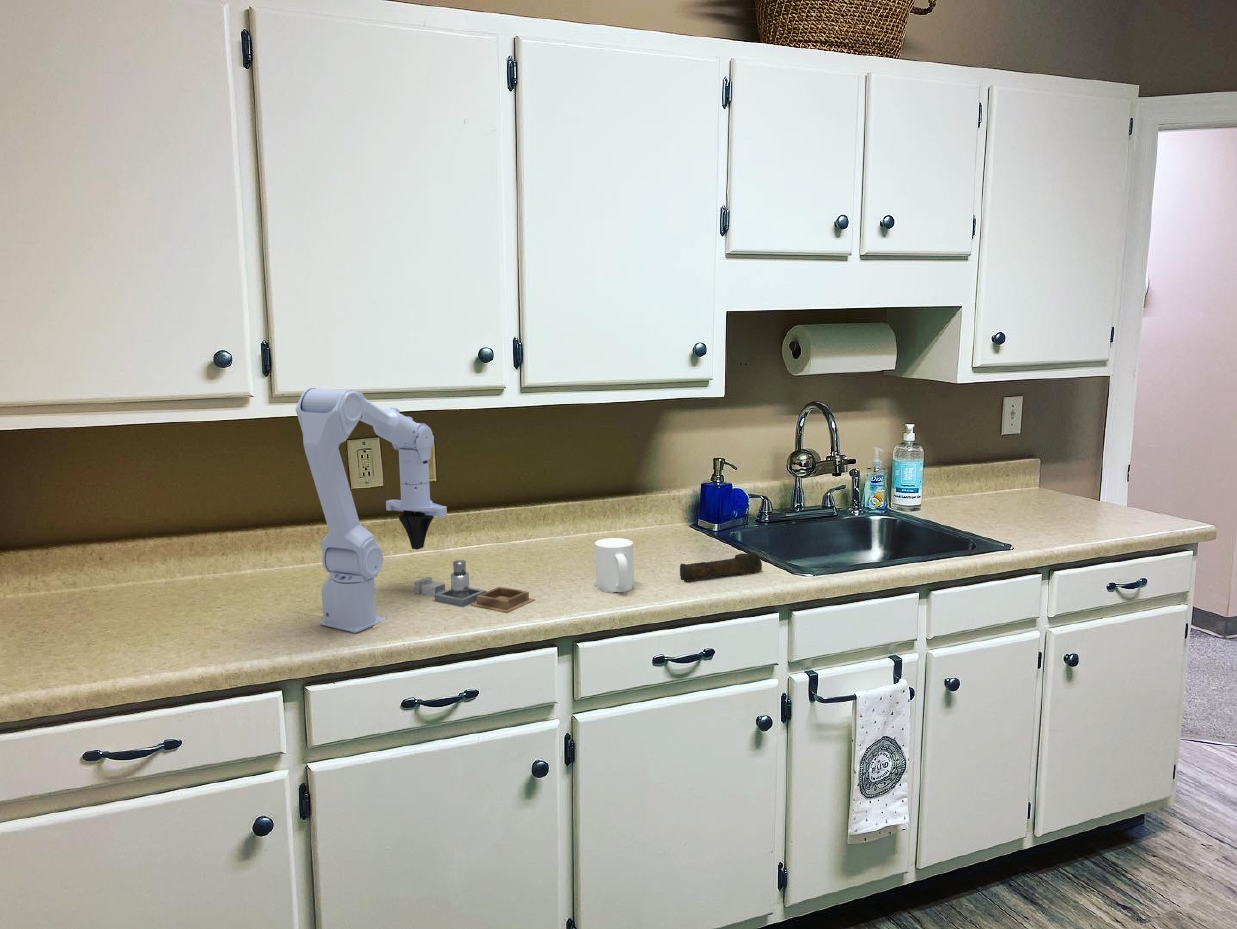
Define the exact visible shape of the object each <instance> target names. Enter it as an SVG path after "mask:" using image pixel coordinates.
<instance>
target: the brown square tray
mask: <svg viewBox="0 0 1237 929" xmlns="http://www.w3.org/2000/svg"><path fill="white" fill-rule="evenodd" d="M533 602H536V598H532V597H530V593H529V591H525V590H520V589H516V588H509V587H503V586H497V587H495V588H492V589H490V590H488V591H486V592H485V593H483V594H480V595H478V596H477V602H475V603H473V604H470V605H469V606H470V607H474V608H475V607H476V608H480V609H485V610H489V611H490V610H491V611H494V612H497V613H498V612H499V613H503V614H508V613H511V612H513V611H516V610H517V609H519V608H522V607H524V606H526V605H528V604H531V603H533Z"/></svg>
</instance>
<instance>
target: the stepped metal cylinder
mask: <svg viewBox="0 0 1237 929" xmlns="http://www.w3.org/2000/svg"><path fill="white" fill-rule="evenodd" d="M452 563H453V565H452V566H453V572H452V573H450V589H451V596H452V597H457V598H462V599H463V598H465V597H467V596H470V588H471V587H470V573H469V572H468V571H467V569H466V560H463V559H461V560H459V559H458V560H453V562H452Z"/></svg>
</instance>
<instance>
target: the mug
mask: <svg viewBox="0 0 1237 929" xmlns="http://www.w3.org/2000/svg"><path fill="white" fill-rule="evenodd" d="M594 564H595V570H596V571H595V587H596V588H597V589H598V590H599V589H600V591H601V590H602V591H601V592H604V591H606V592H605V593H609V592H623V593H627V592H630V591H632V590H633V588H634V584H633V583H634V577H635V574H634V573H635V571H634V570H635V567H634V566H635V564H634V542H633V541H632V540H630V539H627V538H621V537H620V538H619V537H610V538H609V537H608V538H602V539H598V540H596V541H595V542H594ZM632 587H633V588H632ZM629 590H630V591H629ZM626 591H627V592H626Z"/></svg>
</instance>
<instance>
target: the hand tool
mask: <svg viewBox="0 0 1237 929" xmlns="http://www.w3.org/2000/svg"><path fill="white" fill-rule="evenodd" d="M679 565H680V566H679V576H680V579H681V580H682V581H683V580H684V581H683V582H685V581H686V582H685V583H687V582H688V581H692V582H693V581H694V582H695V580H698V579H704V578H711V577H720V576H726V575H735V574H736V575H737V576H747V574H748V575H752V574H753V575H754V574H756V573H759V572H761V571H762V570H763V567H762V566H763V562H762V560H761V557H760V555H759V554H757V553H756V552H747V553H745V552H743V553H739V554H735V555H734V557H733V558H725V559H722V560H721V559H720V560H714V561H713V560H712V561H701V562H695V563H680V564H679Z"/></svg>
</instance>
